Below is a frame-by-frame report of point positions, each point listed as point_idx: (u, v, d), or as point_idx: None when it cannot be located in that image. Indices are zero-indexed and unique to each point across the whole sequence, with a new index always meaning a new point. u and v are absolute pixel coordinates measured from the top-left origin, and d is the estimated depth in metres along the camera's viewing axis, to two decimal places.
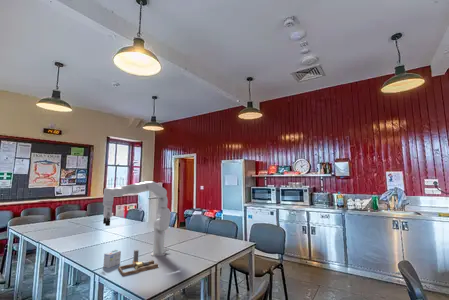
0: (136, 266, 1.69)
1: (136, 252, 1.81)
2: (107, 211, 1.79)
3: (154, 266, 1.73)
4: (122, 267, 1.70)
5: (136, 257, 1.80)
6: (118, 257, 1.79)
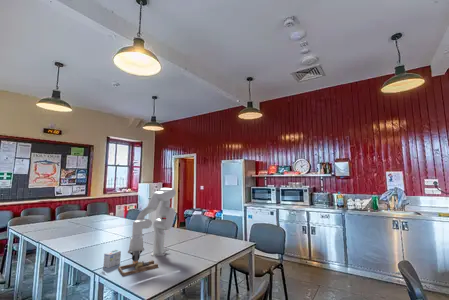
0: (136, 266, 1.69)
1: (136, 252, 1.81)
2: None
3: (154, 266, 1.73)
4: (122, 267, 1.70)
5: (136, 257, 1.80)
6: (118, 258, 1.79)
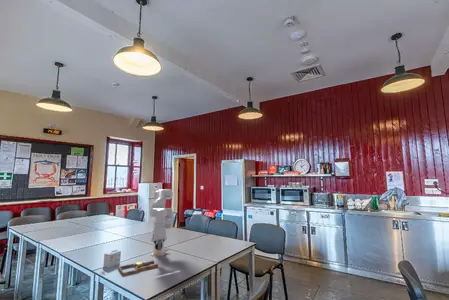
0: (136, 266, 1.69)
1: (159, 241, 1.80)
2: None
3: (154, 266, 1.73)
4: (122, 267, 1.70)
5: (159, 246, 1.80)
6: (118, 257, 1.79)
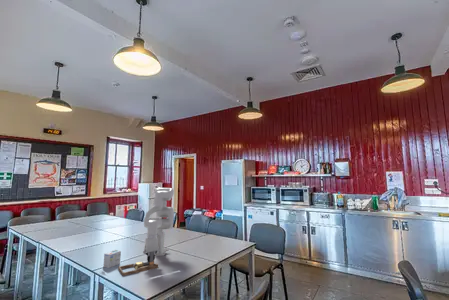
0: (136, 266, 1.69)
1: (151, 253, 1.76)
2: None
3: (154, 266, 1.73)
4: (122, 267, 1.70)
5: (151, 258, 1.76)
6: (118, 258, 1.79)
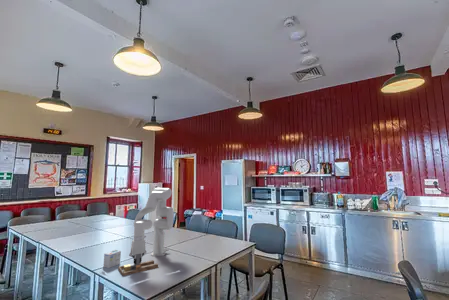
0: (124, 269, 1.64)
1: (138, 255, 1.70)
2: None
3: (154, 266, 1.73)
4: (122, 267, 1.70)
5: (138, 261, 1.70)
6: (118, 257, 1.79)
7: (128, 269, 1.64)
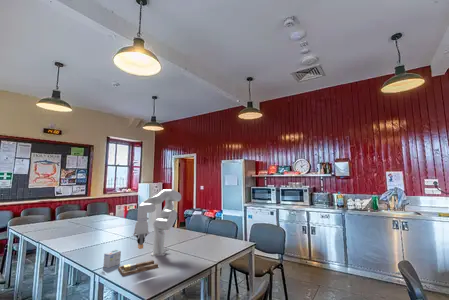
0: (124, 269, 1.64)
1: (141, 235, 1.84)
2: None
3: (154, 266, 1.73)
4: (122, 267, 1.70)
5: (141, 240, 1.83)
6: (118, 258, 1.79)
7: (128, 269, 1.64)
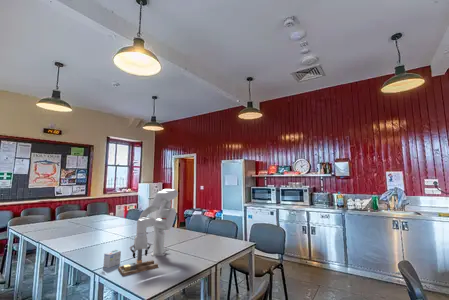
0: (124, 269, 1.64)
1: (140, 251, 1.83)
2: None
3: (154, 266, 1.73)
4: (122, 267, 1.70)
5: (140, 256, 1.83)
6: (118, 258, 1.79)
7: (128, 269, 1.64)
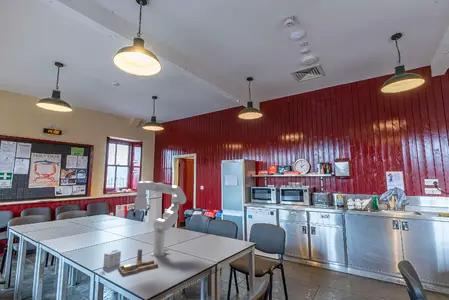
0: (124, 269, 1.64)
1: (140, 251, 1.83)
2: None
3: (154, 266, 1.73)
4: (122, 267, 1.70)
5: (140, 256, 1.83)
6: (118, 258, 1.79)
7: (128, 269, 1.64)
